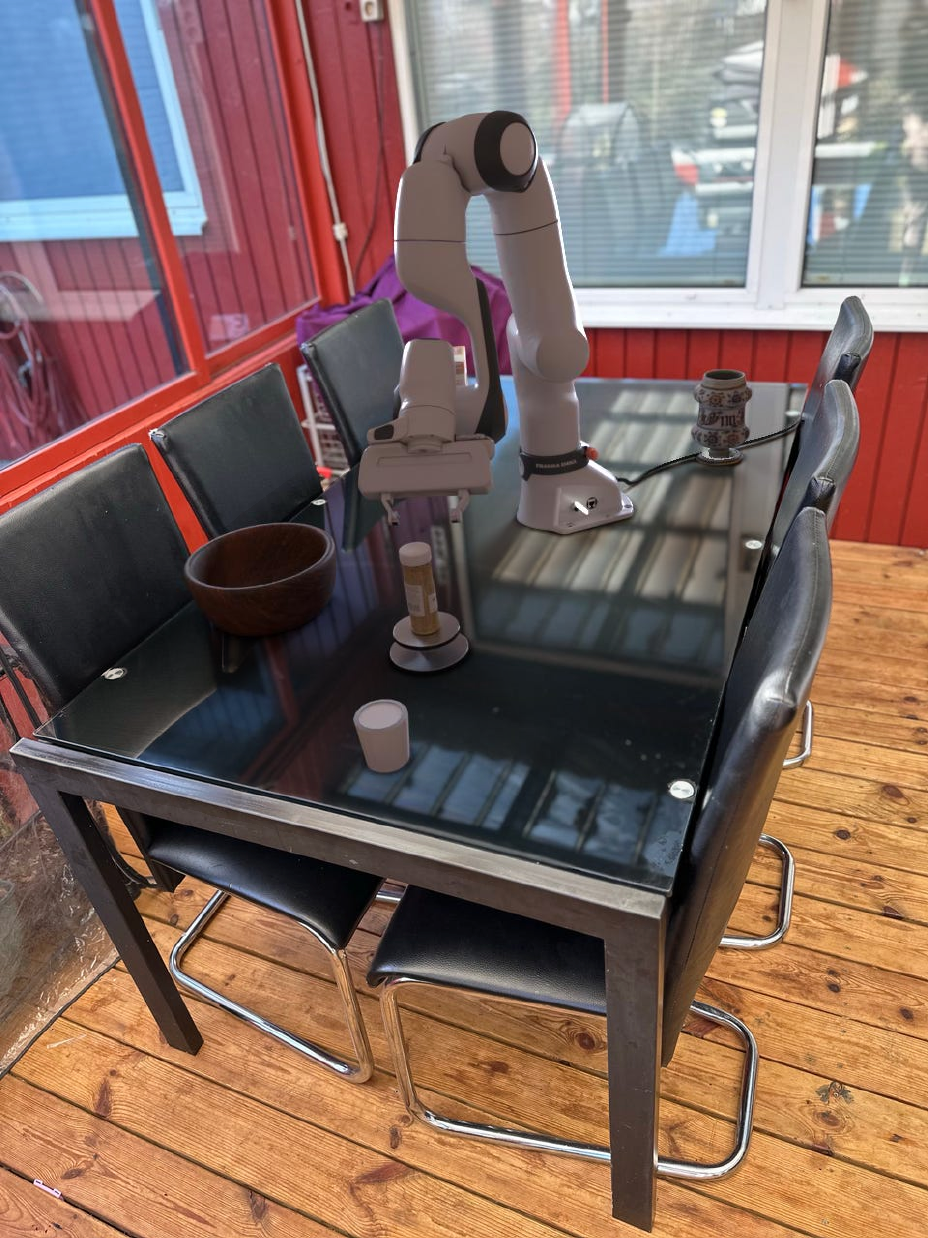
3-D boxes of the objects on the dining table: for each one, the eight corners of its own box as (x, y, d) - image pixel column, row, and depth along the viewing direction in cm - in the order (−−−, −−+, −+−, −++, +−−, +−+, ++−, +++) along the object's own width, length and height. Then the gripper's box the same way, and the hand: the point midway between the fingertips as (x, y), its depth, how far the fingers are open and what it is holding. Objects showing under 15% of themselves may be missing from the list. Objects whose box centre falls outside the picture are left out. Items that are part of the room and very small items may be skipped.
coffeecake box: (471, 442, 213) (464, 361, 203) (442, 444, 213) (433, 363, 203) (472, 422, 226) (465, 344, 216) (444, 424, 226) (436, 347, 216)
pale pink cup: (362, 744, 117) (353, 702, 114) (413, 738, 117) (406, 695, 114) (360, 779, 111) (352, 735, 108) (415, 772, 111) (408, 728, 108)
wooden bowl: (275, 661, 137) (261, 603, 132) (166, 627, 149) (150, 573, 144) (373, 588, 154) (364, 534, 149) (268, 562, 167) (257, 513, 162)
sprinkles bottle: (446, 628, 132) (436, 547, 125) (420, 639, 130) (408, 558, 123) (430, 616, 135) (420, 537, 129) (404, 627, 134) (392, 547, 127)
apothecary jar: (755, 451, 192) (762, 368, 183) (737, 470, 183) (743, 384, 174) (701, 444, 198) (705, 364, 189) (681, 463, 190) (684, 380, 180)
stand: (460, 626, 141) (458, 602, 138) (475, 666, 131) (473, 641, 128) (386, 639, 139) (382, 615, 137) (395, 681, 129) (391, 656, 127)
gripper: (497, 441, 136) (497, 527, 133) (367, 449, 139) (364, 532, 136) (492, 423, 130) (491, 512, 126) (357, 431, 133) (353, 518, 130)
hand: (424, 523), depth 131 cm, fingers open, 8 cm apart
